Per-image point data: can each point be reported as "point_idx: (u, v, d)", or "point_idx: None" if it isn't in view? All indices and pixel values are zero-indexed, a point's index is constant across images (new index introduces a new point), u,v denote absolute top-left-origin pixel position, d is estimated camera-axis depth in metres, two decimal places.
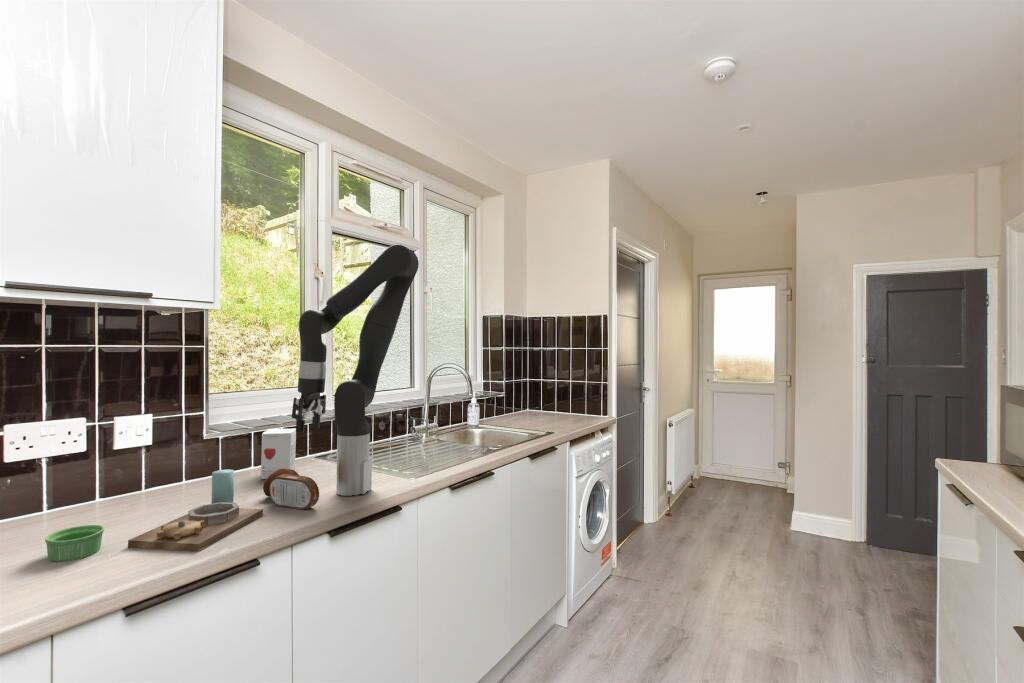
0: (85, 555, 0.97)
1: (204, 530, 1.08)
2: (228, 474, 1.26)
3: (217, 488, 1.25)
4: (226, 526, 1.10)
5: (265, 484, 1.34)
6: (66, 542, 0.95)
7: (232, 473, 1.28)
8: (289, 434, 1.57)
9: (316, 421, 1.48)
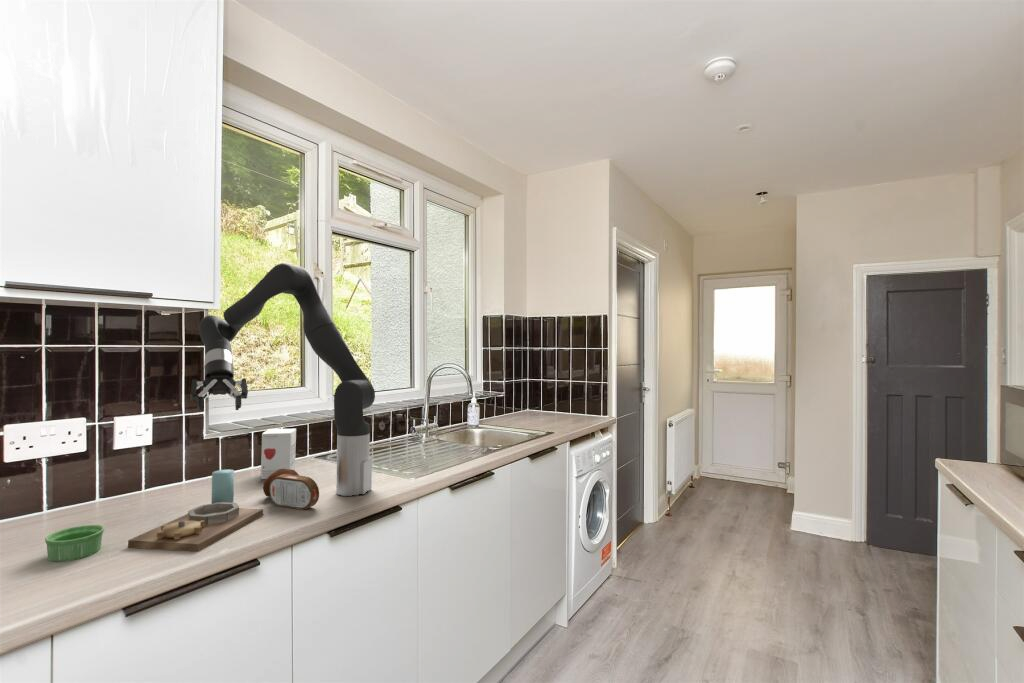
0: (85, 555, 0.97)
1: (204, 530, 1.08)
2: (228, 474, 1.26)
3: (217, 488, 1.25)
4: (226, 526, 1.10)
5: (265, 484, 1.34)
6: (66, 542, 0.95)
7: (232, 473, 1.28)
8: (289, 434, 1.57)
9: (235, 401, 1.40)
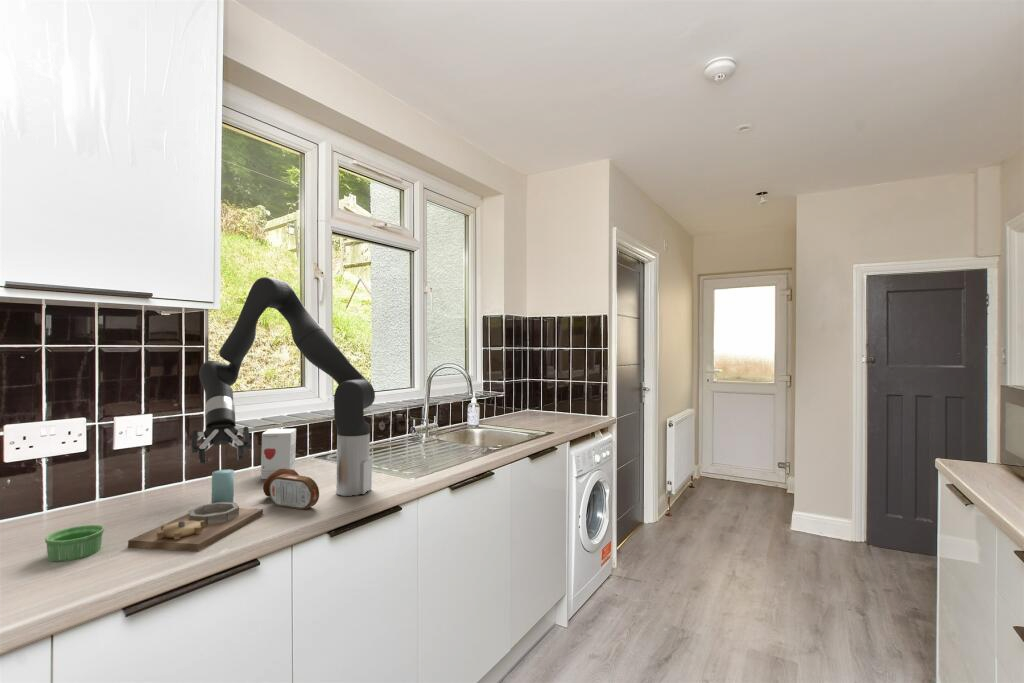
0: (85, 555, 0.97)
1: (204, 530, 1.08)
2: (228, 474, 1.26)
3: (217, 488, 1.25)
4: (226, 526, 1.10)
5: (265, 484, 1.34)
6: (66, 542, 0.95)
7: (232, 473, 1.28)
8: (289, 434, 1.57)
9: (237, 452, 1.36)
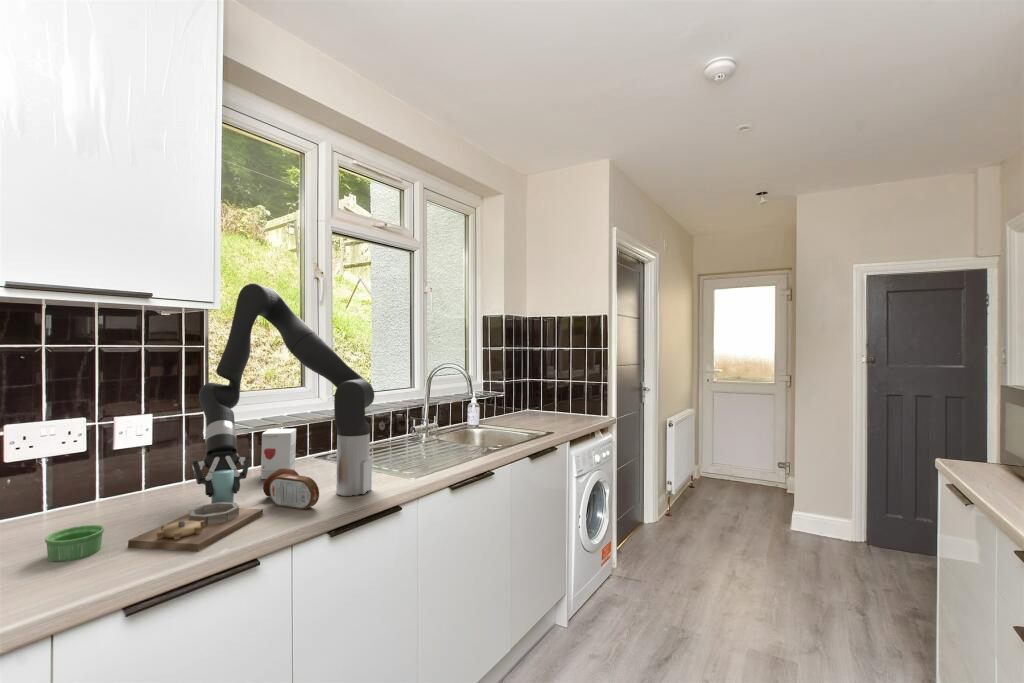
0: (85, 555, 0.97)
1: (204, 530, 1.08)
2: (228, 474, 1.26)
3: (217, 488, 1.25)
4: (226, 526, 1.10)
5: (265, 484, 1.34)
6: (66, 542, 0.95)
7: (232, 473, 1.28)
8: (289, 434, 1.57)
9: None
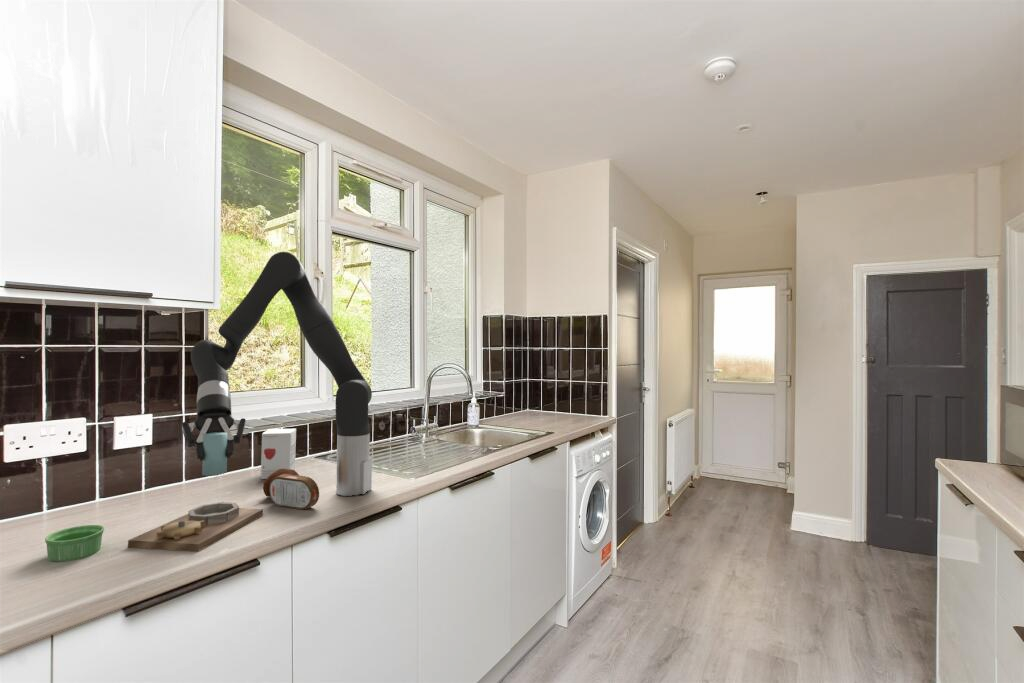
0: (85, 555, 0.97)
1: (204, 530, 1.08)
2: (221, 436, 1.15)
3: (208, 451, 1.14)
4: (226, 526, 1.10)
5: (265, 484, 1.34)
6: (66, 542, 0.95)
7: (225, 435, 1.16)
8: (289, 434, 1.57)
9: None
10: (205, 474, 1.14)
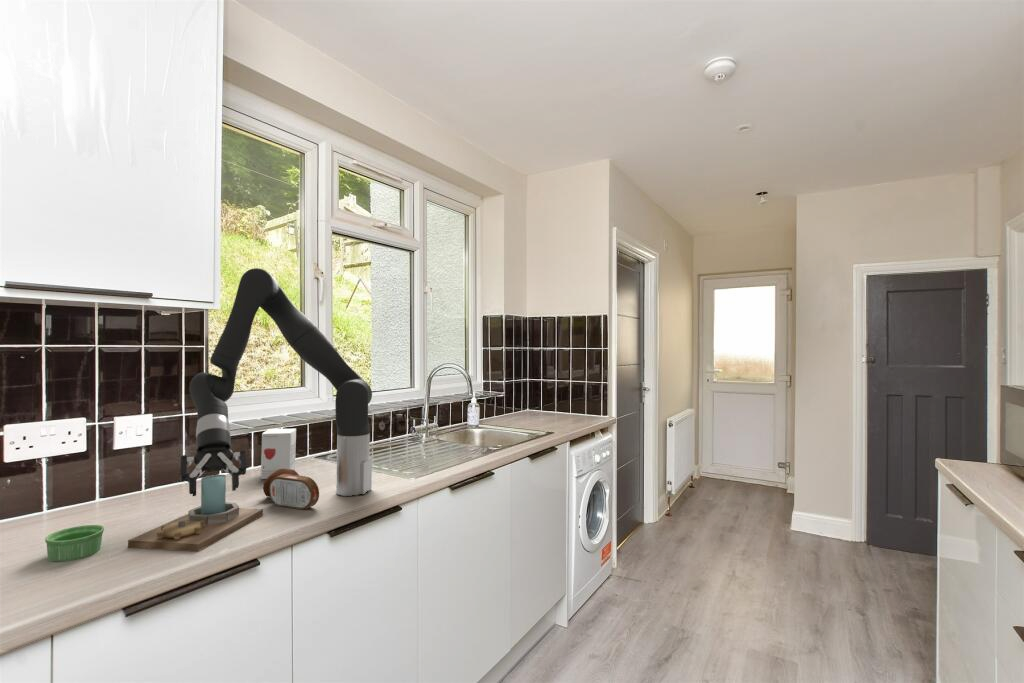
0: (85, 555, 0.97)
1: (204, 530, 1.08)
2: (219, 480, 1.15)
3: (206, 496, 1.14)
4: (226, 526, 1.10)
5: (265, 484, 1.34)
6: (66, 542, 0.95)
7: (223, 479, 1.16)
8: (289, 434, 1.57)
9: (232, 480, 1.18)
10: None
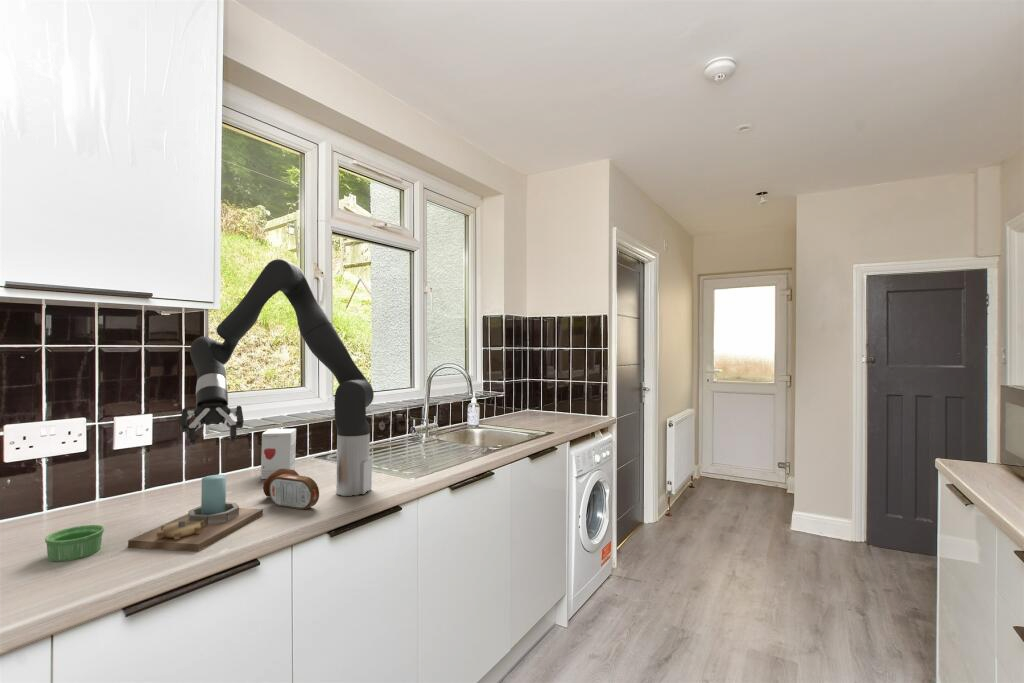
0: (85, 555, 0.97)
1: (204, 530, 1.08)
2: (219, 480, 1.15)
3: (207, 496, 1.14)
4: (226, 526, 1.10)
5: (265, 484, 1.34)
6: (66, 542, 0.95)
7: (224, 479, 1.16)
8: (289, 434, 1.57)
9: (230, 432, 1.28)
10: None
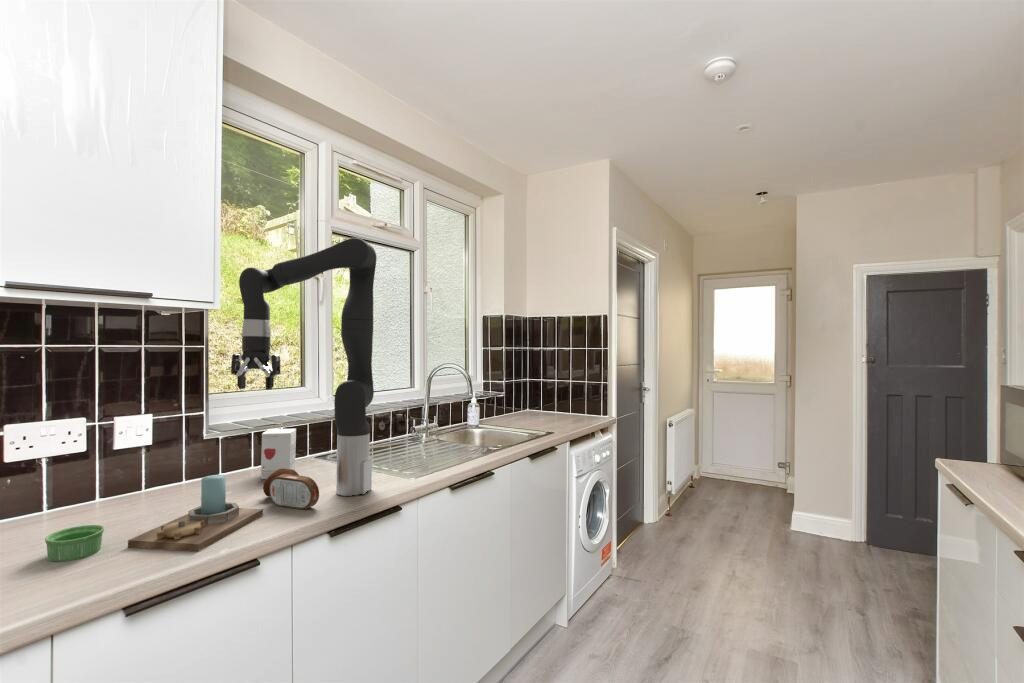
0: (85, 555, 0.97)
1: (204, 530, 1.08)
2: (219, 480, 1.15)
3: (207, 496, 1.14)
4: (226, 526, 1.10)
5: (265, 484, 1.34)
6: (66, 542, 0.95)
7: (224, 479, 1.16)
8: (289, 434, 1.57)
9: None
10: None
